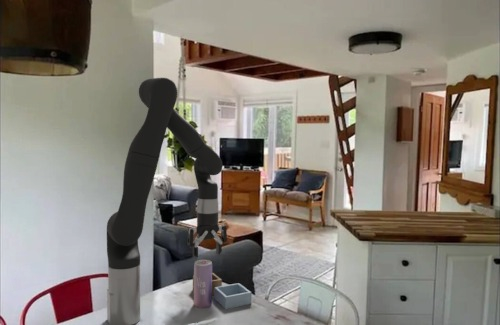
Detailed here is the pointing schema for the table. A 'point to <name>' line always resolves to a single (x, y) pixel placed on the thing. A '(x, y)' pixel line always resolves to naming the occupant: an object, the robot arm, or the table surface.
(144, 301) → the table surface
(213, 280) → the walnut box
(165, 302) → the table surface
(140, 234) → the robot arm
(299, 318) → the table surface
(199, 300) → the beverage can
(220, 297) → the tray
